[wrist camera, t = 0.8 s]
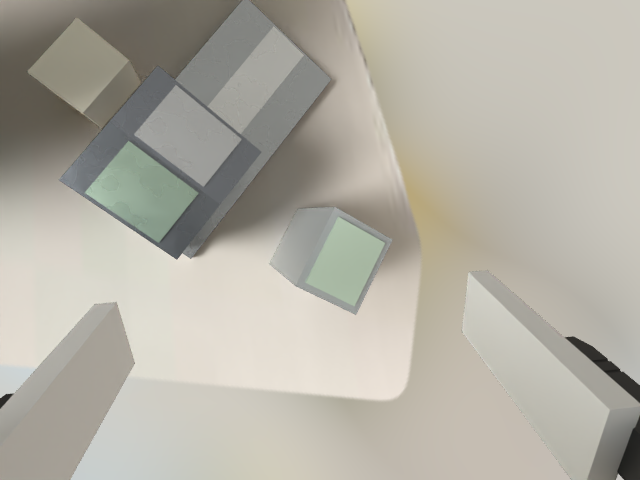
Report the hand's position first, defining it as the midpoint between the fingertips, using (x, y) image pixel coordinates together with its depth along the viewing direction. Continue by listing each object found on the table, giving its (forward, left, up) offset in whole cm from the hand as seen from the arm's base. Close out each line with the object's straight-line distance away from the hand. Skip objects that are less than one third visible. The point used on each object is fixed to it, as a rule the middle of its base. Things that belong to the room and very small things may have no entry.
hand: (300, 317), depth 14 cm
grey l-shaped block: (-9, +8, -21) cm, 24 cm away
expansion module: (+4, +4, -21) cm, 22 cm away
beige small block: (-18, +4, -22) cm, 28 cm away
